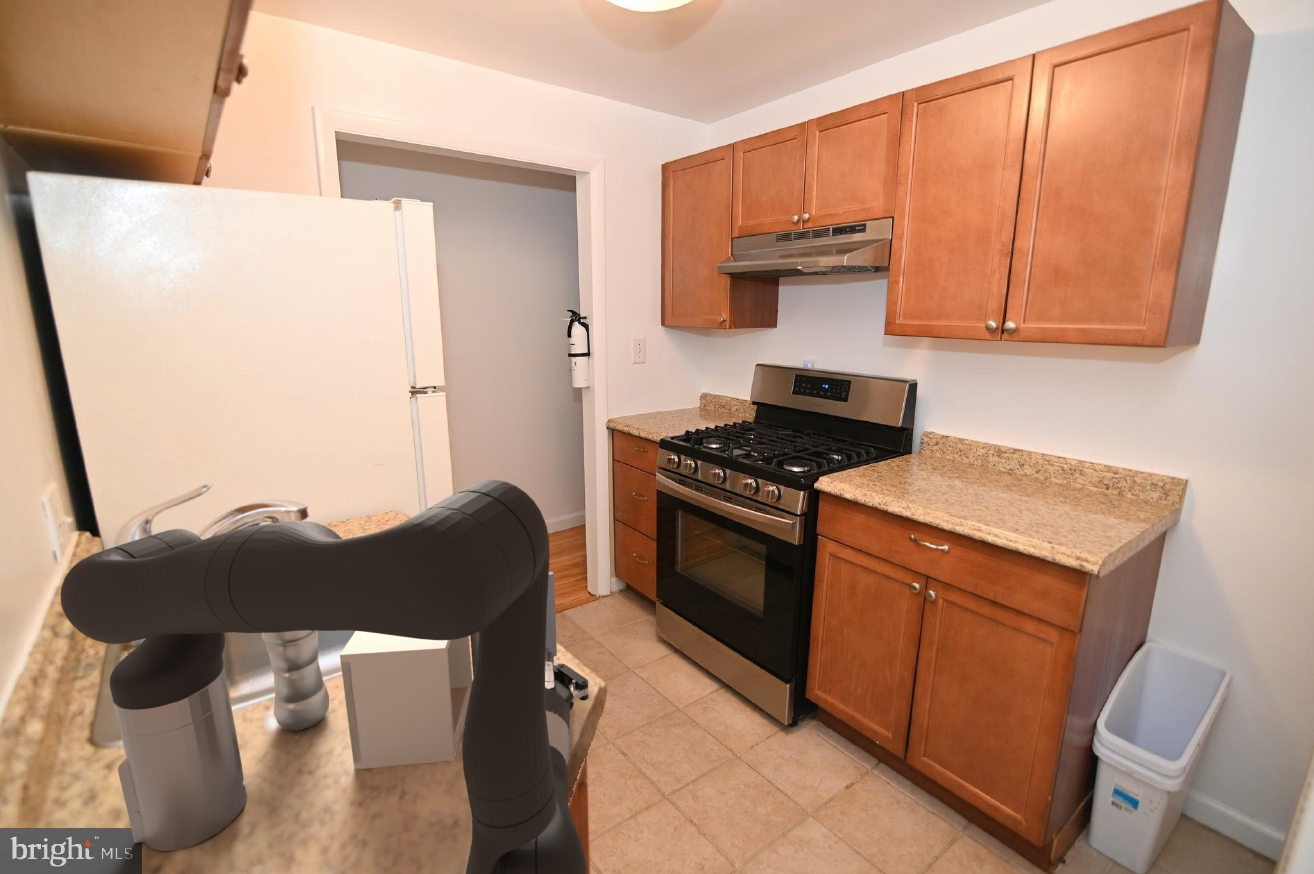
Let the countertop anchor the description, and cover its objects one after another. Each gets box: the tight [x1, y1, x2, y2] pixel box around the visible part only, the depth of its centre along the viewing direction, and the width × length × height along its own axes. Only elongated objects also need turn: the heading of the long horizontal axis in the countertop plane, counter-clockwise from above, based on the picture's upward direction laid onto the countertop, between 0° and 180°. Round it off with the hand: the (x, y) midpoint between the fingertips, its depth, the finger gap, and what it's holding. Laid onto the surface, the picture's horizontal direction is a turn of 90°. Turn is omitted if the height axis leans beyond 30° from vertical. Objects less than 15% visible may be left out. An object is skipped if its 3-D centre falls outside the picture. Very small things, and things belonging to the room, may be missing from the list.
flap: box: [469, 571, 558, 678], centre depth 90 cm, size 1×14×15 cm, turn 127°
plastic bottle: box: [261, 631, 330, 732], centre depth 80 cm, size 6×7×20 cm
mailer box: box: [339, 631, 473, 770], centre depth 79 cm, size 12×14×16 cm
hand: (543, 654), depth 85 cm, fingers closed
